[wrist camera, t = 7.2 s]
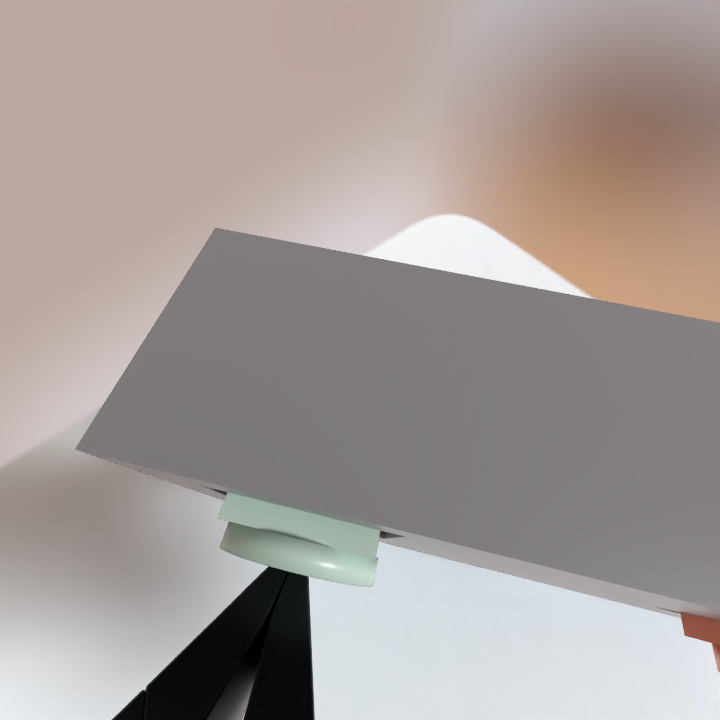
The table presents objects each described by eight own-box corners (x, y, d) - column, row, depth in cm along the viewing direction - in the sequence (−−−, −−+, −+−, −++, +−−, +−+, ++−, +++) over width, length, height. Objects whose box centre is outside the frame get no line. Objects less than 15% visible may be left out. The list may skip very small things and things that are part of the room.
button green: (368, 577, 10) (379, 596, 7) (244, 544, 11) (193, 546, 7) (394, 433, 12) (412, 390, 9) (290, 409, 13) (269, 359, 9)
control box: (703, 623, 15) (1508, 806, 4) (245, 507, 16) (75, 449, 6) (672, 481, 17) (1122, 398, 7) (285, 395, 19) (215, 227, 9)
